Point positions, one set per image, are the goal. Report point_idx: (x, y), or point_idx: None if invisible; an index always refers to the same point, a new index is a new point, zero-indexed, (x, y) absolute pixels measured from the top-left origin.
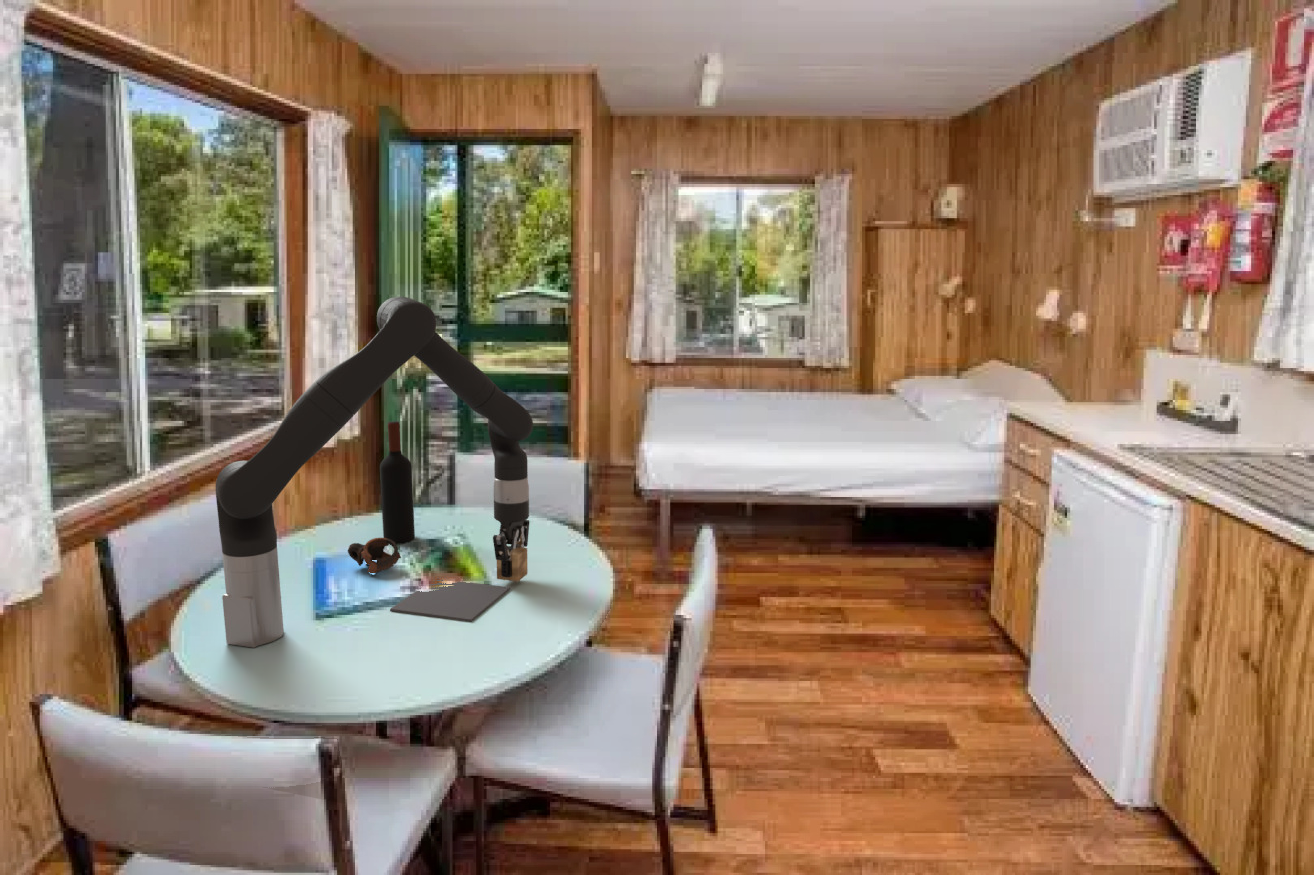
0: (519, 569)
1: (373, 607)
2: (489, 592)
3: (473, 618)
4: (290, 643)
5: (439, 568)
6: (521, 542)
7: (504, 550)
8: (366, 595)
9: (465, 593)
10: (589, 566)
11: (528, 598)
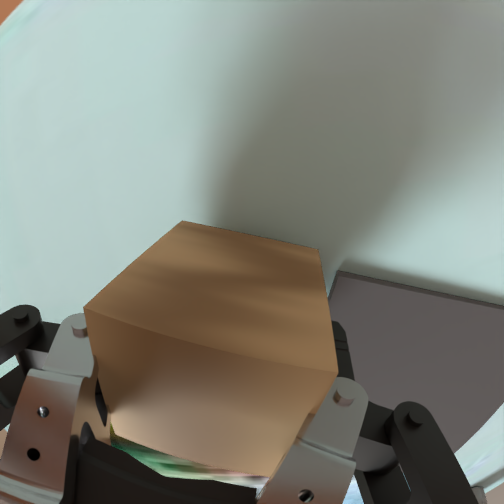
0: (298, 276)
1: (407, 482)
2: (396, 343)
3: None
4: (487, 476)
5: (172, 455)
6: (83, 400)
7: (467, 484)
8: (346, 501)
9: (390, 403)
10: (29, 19)
11: (445, 161)
